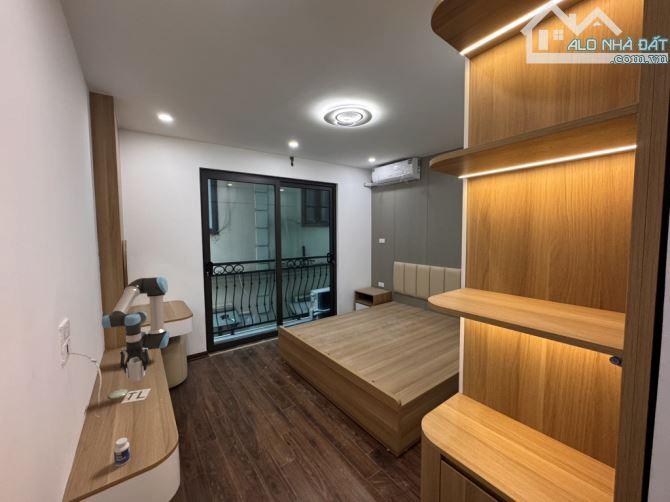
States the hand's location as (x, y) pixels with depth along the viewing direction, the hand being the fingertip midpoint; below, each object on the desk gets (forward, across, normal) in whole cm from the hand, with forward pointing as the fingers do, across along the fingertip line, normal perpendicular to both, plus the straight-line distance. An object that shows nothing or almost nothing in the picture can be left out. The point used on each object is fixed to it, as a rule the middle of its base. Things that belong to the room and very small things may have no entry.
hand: (136, 376), depth 167 cm
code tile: (+12, 0, -1) cm, 12 cm away
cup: (+2, 0, 0) cm, 2 cm away
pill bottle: (+11, +11, -55) cm, 57 cm away
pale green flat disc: (+12, -11, +4) cm, 17 cm away
